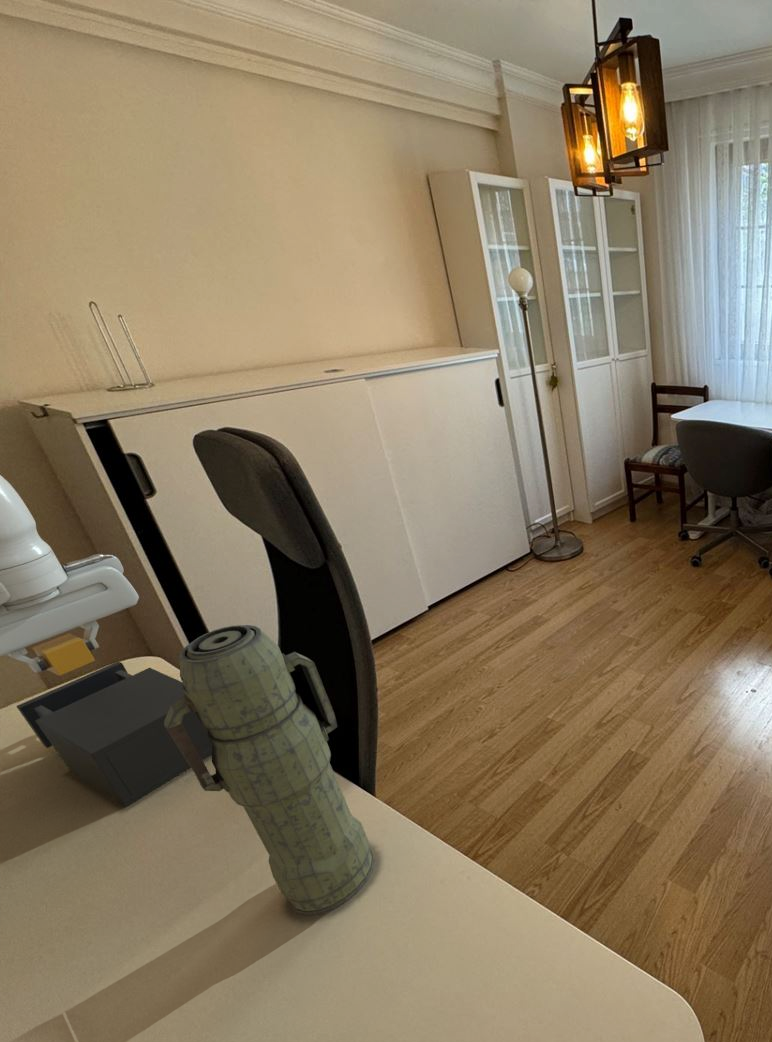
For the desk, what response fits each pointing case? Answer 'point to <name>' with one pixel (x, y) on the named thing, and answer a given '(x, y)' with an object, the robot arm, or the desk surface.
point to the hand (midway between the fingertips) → (67, 659)
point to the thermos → (273, 762)
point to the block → (64, 654)
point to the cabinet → (125, 736)
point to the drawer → (69, 695)
